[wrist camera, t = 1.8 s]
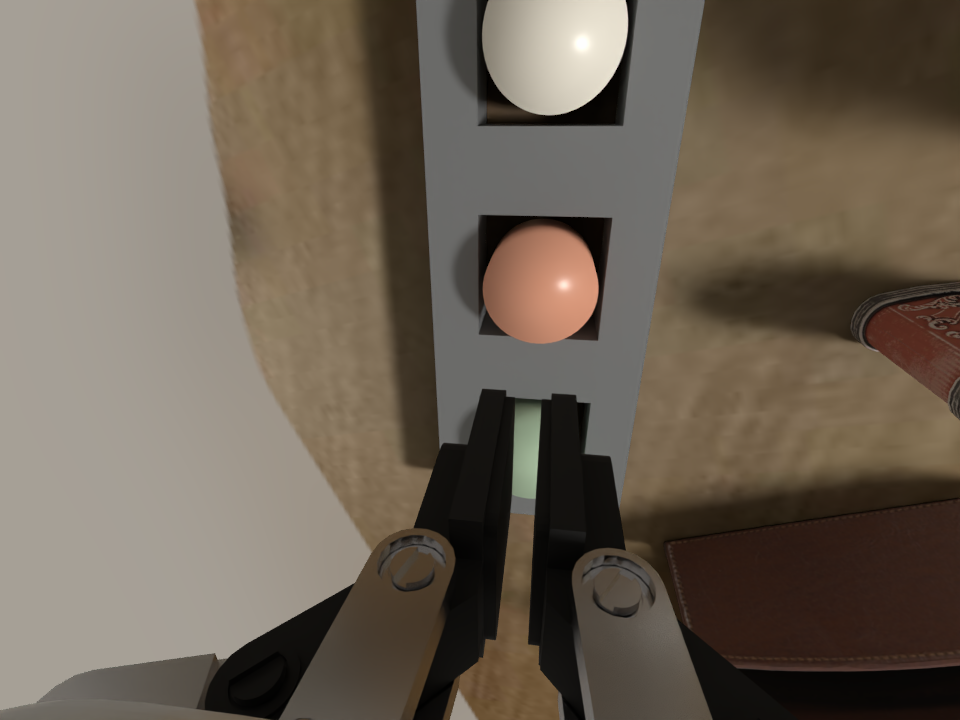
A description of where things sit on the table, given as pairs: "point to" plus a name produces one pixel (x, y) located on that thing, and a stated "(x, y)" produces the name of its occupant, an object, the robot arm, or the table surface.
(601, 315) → the button panel
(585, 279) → the terracotta button
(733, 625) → the letter holder
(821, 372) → the table surface
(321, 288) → the table surface
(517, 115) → the table surface
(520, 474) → the sage button
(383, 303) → the table surface
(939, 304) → the lighter
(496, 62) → the cream button
